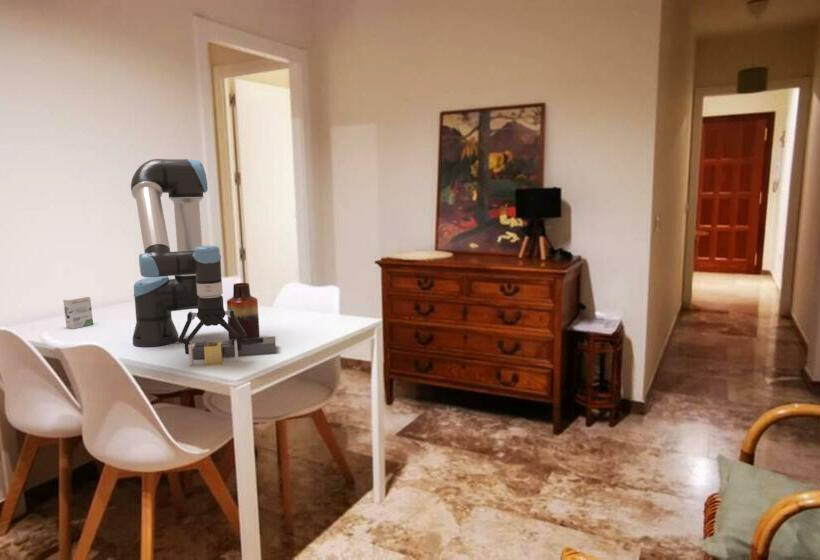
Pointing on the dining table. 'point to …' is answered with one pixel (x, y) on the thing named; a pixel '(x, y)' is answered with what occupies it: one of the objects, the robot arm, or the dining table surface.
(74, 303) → the ink box
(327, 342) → the dining table surface
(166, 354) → the dining table surface
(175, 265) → the robot arm
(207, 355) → the yellow small box
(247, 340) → the rail
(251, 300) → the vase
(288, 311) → the dining table surface
